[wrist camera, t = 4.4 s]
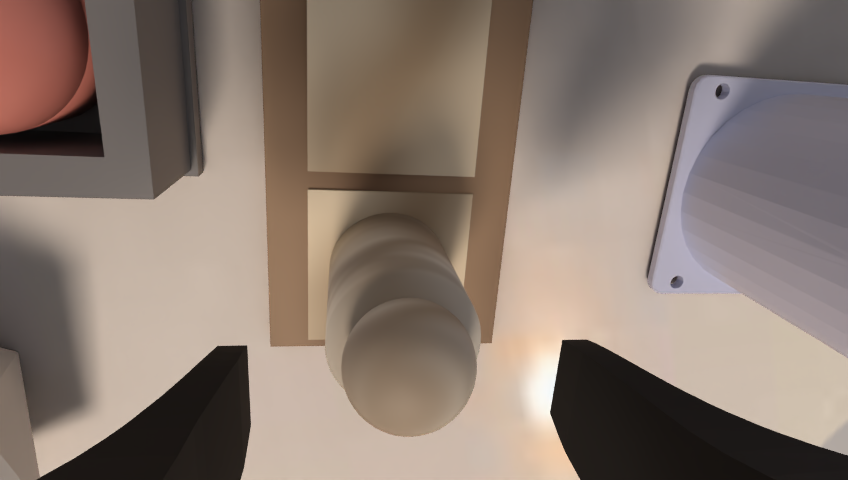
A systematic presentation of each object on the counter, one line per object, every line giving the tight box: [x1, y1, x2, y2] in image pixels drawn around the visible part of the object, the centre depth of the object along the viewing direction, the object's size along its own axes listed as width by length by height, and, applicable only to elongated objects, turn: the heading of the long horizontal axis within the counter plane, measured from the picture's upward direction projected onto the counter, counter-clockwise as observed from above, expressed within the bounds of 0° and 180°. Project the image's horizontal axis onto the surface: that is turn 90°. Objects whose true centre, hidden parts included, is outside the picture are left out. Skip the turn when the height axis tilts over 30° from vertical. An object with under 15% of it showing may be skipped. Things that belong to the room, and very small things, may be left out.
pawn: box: [325, 213, 481, 437], centre depth 15 cm, size 4×4×8 cm
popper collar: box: [0, 0, 203, 199], centre depth 13 cm, size 8×8×4 cm
